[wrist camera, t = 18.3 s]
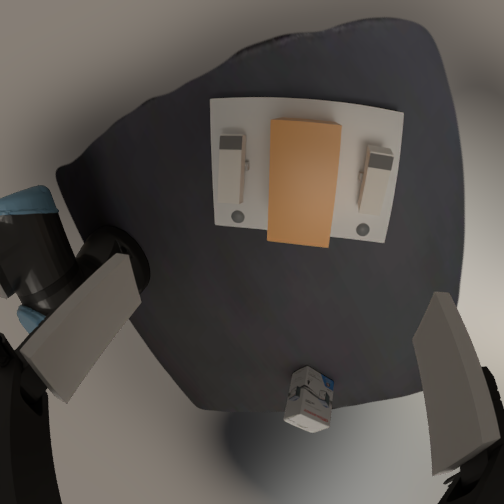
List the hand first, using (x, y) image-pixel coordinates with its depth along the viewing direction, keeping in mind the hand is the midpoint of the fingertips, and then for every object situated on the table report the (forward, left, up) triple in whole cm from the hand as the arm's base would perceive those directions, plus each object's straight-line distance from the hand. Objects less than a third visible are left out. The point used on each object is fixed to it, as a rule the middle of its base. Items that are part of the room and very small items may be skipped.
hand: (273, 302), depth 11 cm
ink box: (+6, -43, -27) cm, 51 cm away
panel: (0, 0, -27) cm, 27 cm away
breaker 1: (-8, 0, -22) cm, 23 cm away
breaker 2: (+8, 0, -22) cm, 23 cm away
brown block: (0, 0, -24) cm, 24 cm away
